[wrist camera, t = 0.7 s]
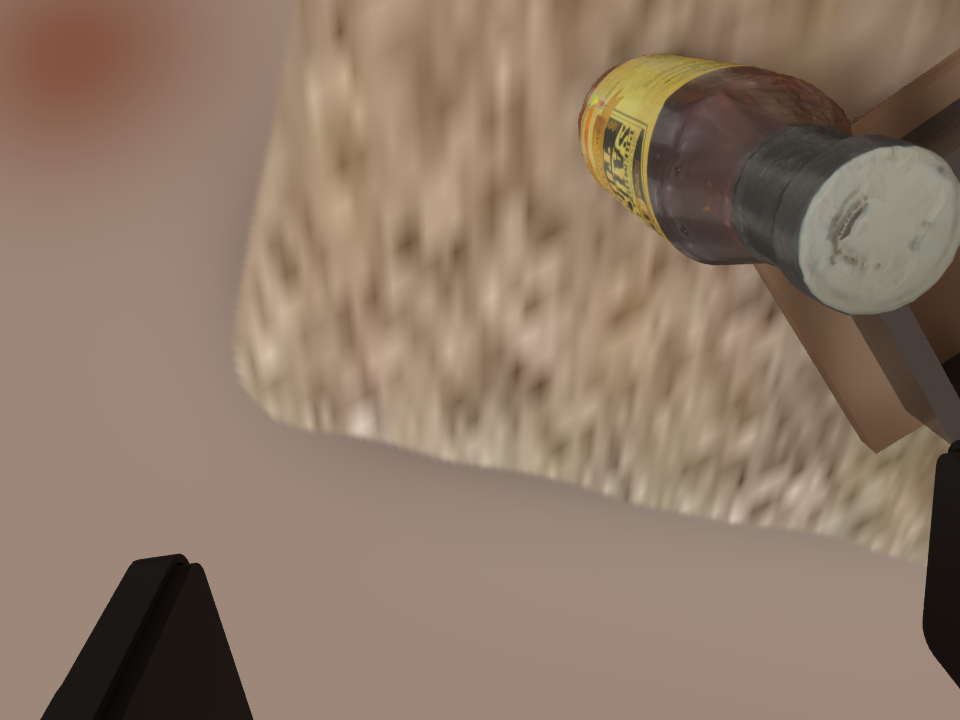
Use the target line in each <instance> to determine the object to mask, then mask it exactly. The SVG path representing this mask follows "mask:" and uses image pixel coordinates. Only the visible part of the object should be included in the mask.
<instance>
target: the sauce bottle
mask: <svg viewBox="0 0 960 720" xmlns="http://www.w3.org/2000/svg"><path fill="white" fill-rule="evenodd" d="M578 130H579V140H580V145H581V149H582V156H583V157H584V159H585V162H586V164H587V167H588V169H589V171H590V172H591V174H592V176H593V177H594V179H595V180H596V181H597V182H598V183H599V184H600V186H601V187H602V188H603V189H605V190H606V191H607V192H608V193H609V194H611V195H612V196H613V197H614V198H615V199H617V200H618V201H619V202H620V203H621V204H623V205H624V206H625V207H626V208H627V209H629V210H630V211H631V212H632V213H633V214H635V215H636V216H637V217H638V218H639V219H641V220H642V221H643V222H644V223H645V224H646V225H647V226H648V227H650V228H651V229H653V230H654V231H655V232H657V233H658V234H659V235H660V236H661V237H663V238H664V239H665V240H666V241H667V242H669V243H670V244H671V245H672V246H673V247H675V248H676V249H677V250H678V251H680V252H681V253H682V254H684V255H685V256H687V257H689V258H691V259H693V260H695V261H698V262H700V263H704V264H709V265H735V264H769V265H772V266H776V267H778V268H779V269H780V270H782V272H783V274H784V276H785V277H786V279H787V280H788V281H789V283H790V284H791V285H792V286H793V287H795V288H796V289H797V290H798V291H800V292H801V293H802V294H804V295H805V296H807V297H809V298H812V299H814V300H816V301H817V302H819V303H821V304H822V305H824V306H826V307H828V308H830V309H832V310H835V311H838V312H840V313H843V314H846V315H872V314H880V313H885V312H889V311H893V310H896V309H898V308H900V307H902V306H904V305H906V304H908V303H911V302H913V301H914V300H916V299H917V298H918V297H920V296H921V295H922V294H924V293H925V292H926V291H928V290H929V289H930V288H931V287H932V286H933V285H934V284H935V283H937V281H938V280H939V279H940V278H941V277H942V275H943V274H944V272H945V271H946V269H947V268H948V266H949V265H950V264H951V263H952V262H953V259H954V257H955V255H956V252H957V249H958V247H959V245H960V180H959V178H958V177H957V176H956V174H955V173H954V171H953V170H952V168H951V167H950V165H949V164H948V162H947V161H946V159H944V158H943V157H941V156H940V155H938V154H937V153H936V152H934V151H932V150H930V149H927V148H925V147H922V146H919V145H916V144H914V143H911V142H908V141H905V140H901V139H895V138H892V137H888V136H883V135H860V136H854V137H853V134H852V131H851V125H850V123H849V121H848V120H847V118H846V115H845V113H844V111H843V109H842V108H840V107H839V106H838V105H837V104H836V103H835V102H834V101H833V100H831V99H830V98H829V97H827V96H826V95H825V94H824V93H823V92H822V91H820V90H818V89H817V88H816V87H814V86H813V85H812V84H809V83H807V82H805V81H803V80H801V79H797V78H795V77H792V76H788V75H785V74H777V73H775V72H772V71H769V70H766V69H762V68H758V67H754V66H746V65H740V64H734V63H725V62H718V61H712V60H705V59H698V58H692V57H685V56H678V55H673V54H652V55H643V56H641V57H638V58H634V59H630V60H628V61H625V62H622V63H620V64H618V65H616V66H614V67H612V68H611V69H609V70H608V71H606V72H605V73H603V74H602V76H601V77H600V78H599V79H598V80H597V81H596V82H595V83H594V84H593V86H592V87H591V89H590V91H589V92H588V94H587V96H586V98H585V102H584V104H583V107H582V110H581V112H580V114H579V119H578Z"/></svg>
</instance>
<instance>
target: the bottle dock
mask: <svg viewBox="0 0 960 720" xmlns="http://www.w3.org/2000/svg"><path fill="white" fill-rule="evenodd" d="M851 131H852V134H853V137H854V136H860V135H883V136H888V137H892V138H895V139H901V140H905V141H908V142H911V143H914V144H916V145H919V146H922V147H925V148H927V149H930V150H932V151H934V152H936V153H937V154H938V155H940V156H941V157H943V158H944V159H946V161H947V162H948V164H949V165H950V167H951V168H952V170H953V171H954V173H955V174H956V176H957V177H958V178H959V180H960V49H958V50H957V51H956V52H954V53H953V54H951V55H950V56H948V57H947V58H946V59H944V60H943V61H941V62H940V63H938V64H937V65H936V66H934V67H933V68H931V69H930V70H928V71H927V72H926V73H924V74H923V75H921V76H920V77H918V78H917V79H916V80H914V81H913V82H911V83H910V84H909V85H907V86H906V87H904V88H903V89H901V90H900V91H899V92H897V93H896V94H894V95H893V96H891V97H890V98H889V99H887V100H886V101H884V102H883V103H881V104H880V105H879V106H877V107H876V108H874V109H873V110H871V111H870V112H869V113H867V114H866V115H864V116H863V117H861V118H860V119H859V120H857V121H856V122H854V123H853V124H851ZM753 265H754V266H755V268H756V270H757V271H758V273H759V274H760V276H761V278H762V279H763V281H764V283H765V284H766V286H767V287H768V289H769V291H770V292H771V294H772V296H773V297H774V299H775V301H776V302H777V304H778V305H779V307H780V309H781V310H782V312H783V314H784V315H785V317H786V318H787V320H788V322H789V323H790V325H791V327H792V328H793V330H794V331H795V333H796V335H797V336H798V338H799V340H800V341H801V343H802V345H803V346H804V348H805V349H806V351H807V353H808V354H809V356H810V358H811V359H812V361H813V362H814V364H815V366H816V367H817V369H818V371H819V372H820V374H821V375H822V377H823V379H824V380H825V382H826V384H827V385H828V387H829V388H830V390H831V392H832V393H833V395H834V397H835V398H836V400H837V402H838V403H839V405H840V406H841V408H842V410H843V411H844V413H845V415H846V416H847V418H848V419H849V421H850V423H851V424H852V426H853V428H854V429H855V431H856V432H857V434H858V436H859V437H860V439H861V441H863V442H864V443H865V444H866V445H867V446H868V447H869V448H870V449H871V450H873V451H874V452H875V453H876V454H877V453H878V452H880V451H881V450H883V449H885V448H886V447H888V446H889V445H891V444H893V443H894V442H896V441H897V440H899V439H901V438H902V437H904V436H905V435H907V434H909V433H910V432H912V431H914V430H915V429H917V428H918V427H920V426H922V425H923V424H924V425H926V426H927V427H928V428H930V429H931V430H932V431H933V432H935V433H936V434H937V435H939V436H940V437H941V438H943V439H944V440H945V441H947V442H948V443H949V444H952V443H953V442H955V441H956V440H960V245H959V247H958V249H957V252H956V255H955V257H954V259H953V262H952V263H951V264H950V265H949V266H948V268H947V269H946V271H945V272H944V274H943V275H942V277H941V278H940V279H939V280H938V281H937V283H935V284H934V285H933V286H932V287H931V288H930V289H929V290H928V291H926V292H925V293H924V294H922V295H921V296H920V297H918V298H917V299H916V300H914V301H913V302H911V303H908V304H906V305H904V306H902V307H900V308H898V309H896V310H893V311H889V312H885V313H880V314H872V315H846V314H843V313H840V312H838V311H835V310H832V309H830V308H828V307H826V306H824V305H822V304H821V303H819V302H817V301H816V300H814V299H812V298H809V297H807V296H805V295H804V294H802V293H801V292H800V291H798V290H797V289H796V288H795V287H793V286H792V285H791V284H790V283H789V281H788V280H787V279H786V277H785V276H784V274H783V272H782V270H780V269H779V268H778V267H776V266H772V265H769V264H753Z"/></svg>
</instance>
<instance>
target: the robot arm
mask: <svg viewBox="0 0 960 720" xmlns="http://www.w3.org/2000/svg"><path fill="white" fill-rule="evenodd" d="M923 632H924V636H925V639H926V642H927V644H928V647H929V649H930V650H931V652H932V653H933V655H934V656H935V657H936V659H937V660H938V661H939V663H940V664H941V665H942V667H943V668H944V669H945V670H946V672H947V673H948V674H949V675H950V677H951V678H952V679H953V680H954V682H955V683H956V684H957V686H958V687H959V688H960V440H956V441H955V442H953V443H952V444H951V446H950V447H949V449H948V453H945V454H942V455H940V457H939V458H938V460H937V464H936V473H935V484H934V496H933V507H932V518H931V530H930V541H929V553H928V564H927V576H926V587H925V598H924V610H923ZM40 720H253V717H252V714H251V711H250V708H249V705H248V702H247V699H246V696H245V693H244V690H243V687H242V684H241V681H240V678H239V675H238V672H237V669H236V666H235V663H234V659H233V656H232V653H231V650H230V647H229V645H228V641H227V638H226V635H225V632H224V629H223V626H222V623H221V620H220V617H219V614H218V611H217V608H216V605H215V602H214V599H213V596H212V593H211V590H210V587H209V584H208V581H207V578H206V575H205V572H204V570H203V568H202V566H201V565H200V564H199V563H192V564H189V562H188V560H187V559H186V557H185V556H184V555H182V554H173V555H167V556H160V557H153V558H146V559H139V560H136V561H134V562H133V563H132V564H131V565H130V566H129V568H128V570H127V571H126V573H125V575H124V577H123V578H122V580H121V582H120V584H119V585H118V587H117V589H116V591H115V592H114V594H113V596H112V598H111V599H110V602H109V603H108V605H107V607H106V608H105V610H104V612H103V613H102V616H101V617H100V619H99V620H98V622H97V624H96V626H95V628H94V629H93V631H92V633H91V634H90V637H89V638H88V640H87V641H86V643H85V645H84V647H83V649H82V650H81V652H80V654H79V656H78V657H77V659H76V661H75V663H74V664H73V666H72V668H71V670H70V671H69V674H68V675H67V677H66V678H65V680H64V682H63V684H62V685H61V687H60V688H59V689H58V690H57V692H56V693H55V695H54V697H53V698H52V700H51V702H50V704H49V706H48V707H47V709H46V711H45V712H44V714H43V716H42V718H41V719H40Z"/></svg>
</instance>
